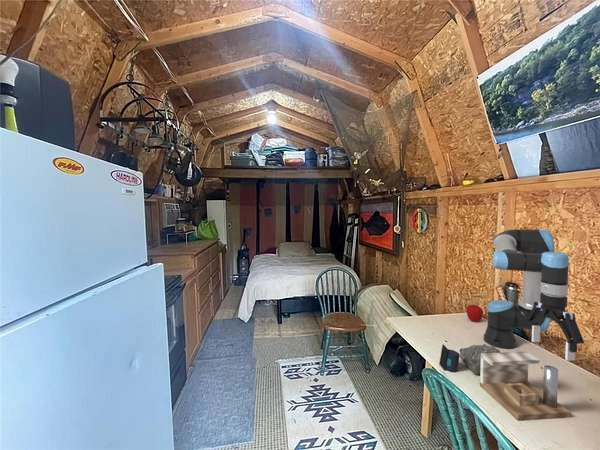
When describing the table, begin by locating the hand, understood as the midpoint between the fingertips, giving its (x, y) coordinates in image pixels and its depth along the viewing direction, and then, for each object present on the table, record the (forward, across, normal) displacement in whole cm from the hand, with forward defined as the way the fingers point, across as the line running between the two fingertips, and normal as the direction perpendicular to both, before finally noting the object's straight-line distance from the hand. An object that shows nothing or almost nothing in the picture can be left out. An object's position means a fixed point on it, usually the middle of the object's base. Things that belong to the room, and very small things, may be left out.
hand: (551, 350), depth 106 cm
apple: (+23, -82, +27) cm, 89 cm away
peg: (+21, 0, 0) cm, 21 cm away
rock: (+23, -29, -7) cm, 38 cm away
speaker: (+23, -30, -21) cm, 43 cm away
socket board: (+23, -6, -6) cm, 25 cm away
